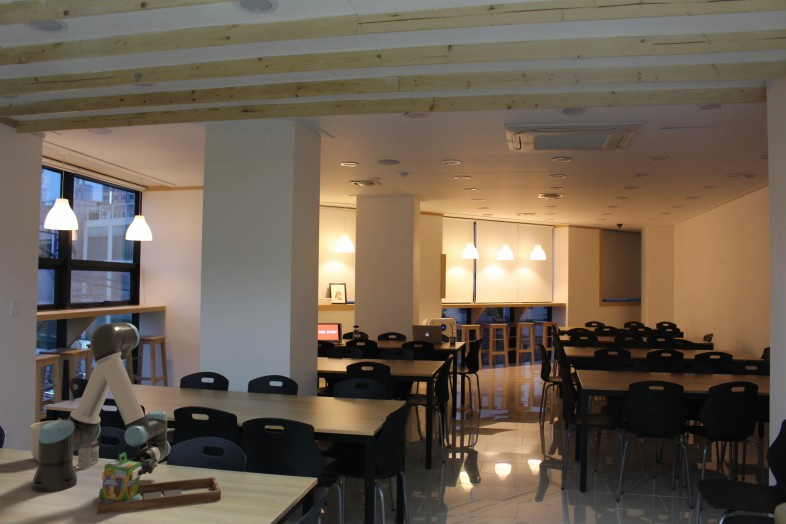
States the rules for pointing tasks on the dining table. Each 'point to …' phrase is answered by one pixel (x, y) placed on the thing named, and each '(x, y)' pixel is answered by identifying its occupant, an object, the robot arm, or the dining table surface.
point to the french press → (88, 456)
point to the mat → (120, 501)
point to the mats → (158, 493)
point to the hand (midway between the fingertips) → (118, 475)
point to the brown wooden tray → (167, 499)
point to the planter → (36, 437)
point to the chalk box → (120, 480)
